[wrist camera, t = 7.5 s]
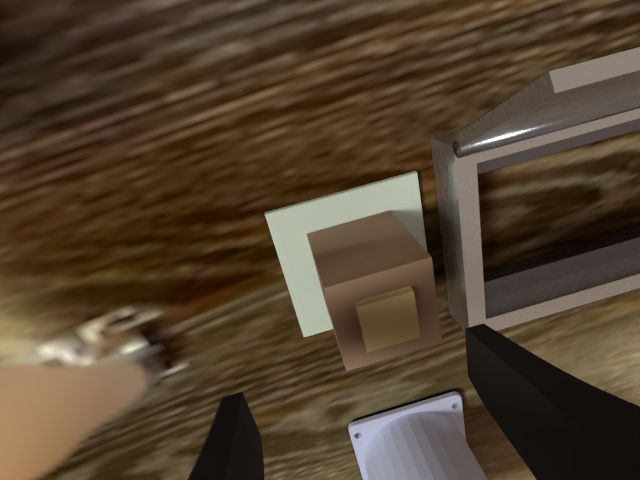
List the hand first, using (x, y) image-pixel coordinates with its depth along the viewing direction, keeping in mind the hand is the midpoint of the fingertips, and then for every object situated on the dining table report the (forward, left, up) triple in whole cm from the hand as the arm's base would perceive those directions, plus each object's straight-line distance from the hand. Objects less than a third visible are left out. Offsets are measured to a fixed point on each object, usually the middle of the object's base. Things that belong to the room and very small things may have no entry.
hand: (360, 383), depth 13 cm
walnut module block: (-1, -2, -10) cm, 10 cm away
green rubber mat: (-1, -2, -10) cm, 10 cm away
